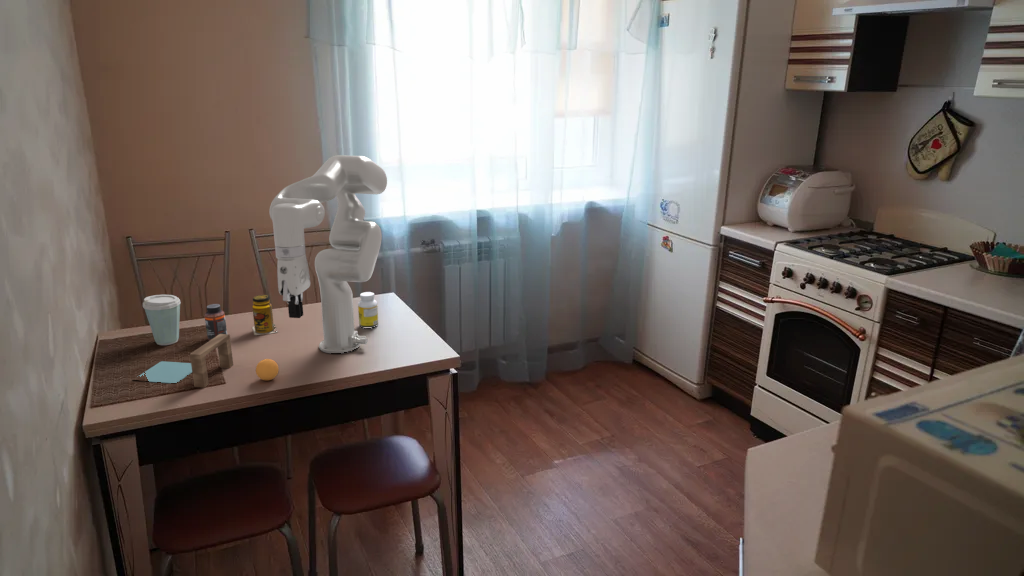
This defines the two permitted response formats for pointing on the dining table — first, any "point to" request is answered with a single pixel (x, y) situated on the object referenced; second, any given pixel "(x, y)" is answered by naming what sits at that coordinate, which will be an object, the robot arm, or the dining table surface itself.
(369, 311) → the pill bottle
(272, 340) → the dining table surface
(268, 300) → the condiment
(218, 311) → the supplement bottle
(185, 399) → the dining table surface
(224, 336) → the bridge
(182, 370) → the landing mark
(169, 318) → the disposable coffee cup
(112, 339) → the dining table surface
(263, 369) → the ball
